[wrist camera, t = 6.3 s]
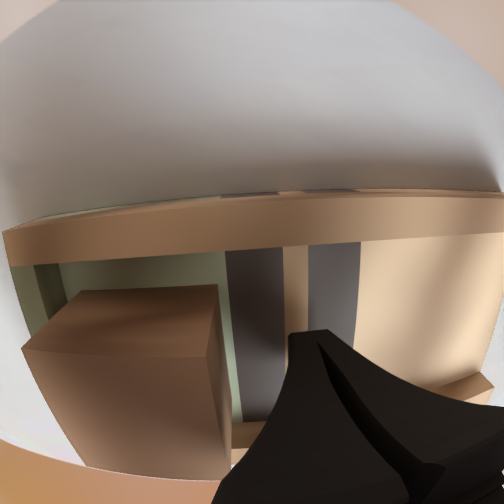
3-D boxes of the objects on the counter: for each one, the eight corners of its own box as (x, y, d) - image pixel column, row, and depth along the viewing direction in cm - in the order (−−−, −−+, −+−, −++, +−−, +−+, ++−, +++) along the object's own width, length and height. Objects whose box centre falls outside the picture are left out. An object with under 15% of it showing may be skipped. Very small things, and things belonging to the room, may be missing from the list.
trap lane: (502, 192, 10) (539, 201, 8) (464, 378, 13) (486, 404, 11) (41, 217, 10) (2, 231, 8) (104, 418, 13) (89, 452, 10)
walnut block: (217, 283, 10) (205, 356, 6) (232, 399, 11) (230, 480, 7) (81, 290, 10) (20, 348, 6) (116, 396, 11) (86, 466, 7)
